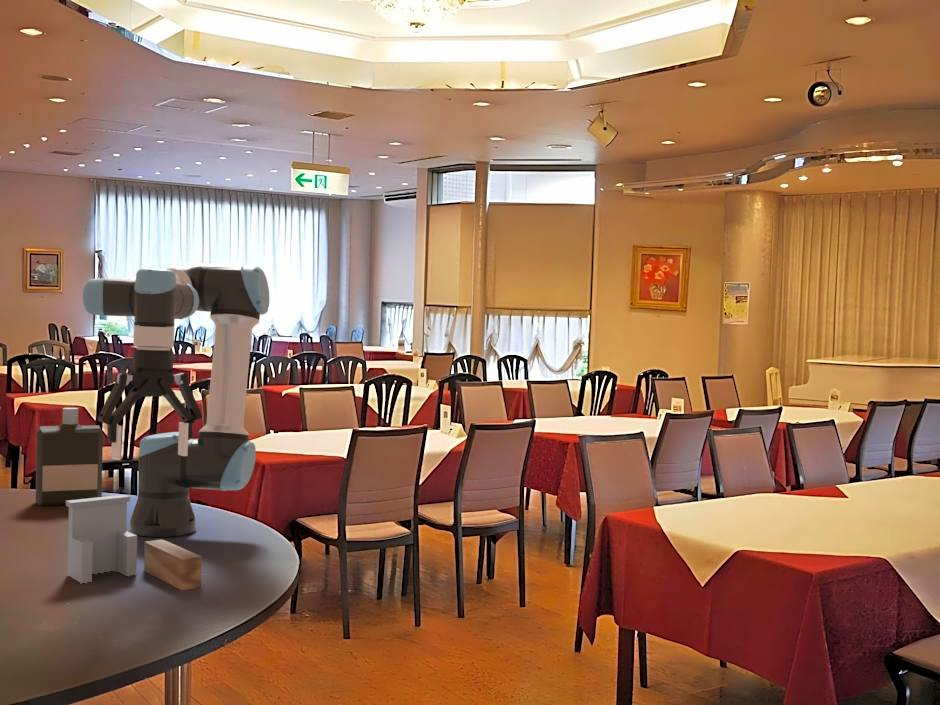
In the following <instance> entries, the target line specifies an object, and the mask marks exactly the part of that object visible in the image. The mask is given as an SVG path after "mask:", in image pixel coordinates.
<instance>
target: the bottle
mask: <svg viewBox="0 0 940 705" xmlns="http://www.w3.org/2000/svg"><path fill="white" fill-rule="evenodd" d="M103 444H104V431H103V429H102V428H101V427H100V425H99V424H98V425H95V424H94V425H81V424H80V423H79V407H63V408H62V422H61V423H60V425H39V427H38V428H37V429H36V450H35V451H36V454H35V456H36V458H35V460H36V462H35V463H36V464H35V468H36V469H35V502H36V504H37V505H38V507H47V506H49V507H51V506H66V501H68V500H78V499H87V498H97V497H103V493H102V492H103V459H104V458H103V455H104V454H103V453H104V452H103V451H104V450H103V449H104V445H103Z"/></svg>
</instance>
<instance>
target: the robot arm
mask: <svg viewBox="0 0 940 705" xmlns="http://www.w3.org/2000/svg"><path fill="white" fill-rule="evenodd" d="M269 289H270V288H269V284H268V279H267V276H266V274H265V271H263V269H262V268H260V266H256V265H247V264H245V263H242V264H231V263H230V264H229V263H228V264H225V263H218V264H217V263H201V262H200V263H192V264H186V265H182V266H176V267H169V268H165V269H161V268H160V269H158V268H157V269H155V268H140V269H139V270H137V271H136V274H135V276H130V277H123V278H104V277H101V278H91V279H89V280H87V282H86V283H85V285H84V287H83V290H82V304H83V307H84V309H85V311H86V312H87V313H88V314H90V315H93V316H102V317H105V316H106V317H109V316H110V317H134V322H133V346H134V347H135V348H134V349H133V351H132V373H131V374H126V373H121V372H117V373H116V375H115V379H114V380H115V381H114V386H112V389H111V391H110V393H109V394H108V397H107V398H106V401H105V403H104V404H103V407H102V408H101V411H100V412H99V414H98V416H97V421H98V422H100V423H104V424H106V426H107V434H106V435H107V436H106V438H107V442H108V443H111V454H110V459H111V460H114V461H121V460H122V458H121V456H122V434H123V433H122V431H123V430H122V429H123V428H122V427H123V426H122V425H119V423H120V422H121V421H122V420H123V418H124V417H125V416H126V415H127V414H128V412H129V411H130V410H131V409H132V408H133V407H134V405H135V404H136V403H137V401H139V400H140V399H141V398H142V397H146V398H147V397H148V398H152V397H163V398H164V399H166V401H167V402H168V403H169V405H171V407H172V408H173V410H174V411H175V413H177V415H178V416H179V418H181V420H182V421H183V422H182V421H179V422H178V431H170V432H162V433H156V434H151V435H147V436H144V437H143V438H142V439H141V440H140V442H139V450H138V456H137V458H138V465H137V466H138V469H137V470H138V471H137V472H138V476H137V477H138V478H137V484H138V485H137V500H136V504H135V506H134V507H133V508H134V509H133V512H132V515H131V518H130V519H129V527H128V528H129V529H128V530H129V531H128V532H130V533H132V534H134V535H137V536H140V537H146V538H147V537H149V538H168V537H177V536H178V537H179V536H184V535H188V534H191V533H193V532H195V531H196V529H197V520H196V516H195V513H194V510H193V507H192V503H191V500H190V489H196V490H198V489H199V490H200V489H201V490H212V491H213V490H214V491H215V490H216V491H223V492H226V491H239V490H242V489H243V488H245V487H246V485H248V483H249V481H250V479H251V477H252V475H253V472H254V468H255V464H256V456H257V453H256V450H257V448H256V445H255V443H254V442H252V441H251V440H249V439H250V437H249V436H250V433H249V432H248V431H247V430H246V429H245V427H244V424H245V423H244V422H245V421H244V420H245V414H246V412H245V411H246V410H245V409H246V401H247V400H246V399H247V390H248V378H249V369H250V367H249V366H250V359H251V358H250V356H251V355H250V354H251V346H252V335H253V329H254V328H255V326H257V325H258V324H259V323H260V316H263V315H265V314H267V313H268V312H269V307H270V291H269ZM197 311H198V312H206V313H207V312H208V313H209V312H210V315H209V318H210V320H212V322H213V323H214V324H215V333H214V341H213V352H212V360H211V361H212V363H211V370H210V371H211V372H210V381H209V382H210V383H209V384H210V385H209V392H208V402H207V403H208V405H207V414H206V424H205V425H203V427H202V428H201V429H199V430H198V437H197V438H192V437H193V424H195V423H196V421H198V420H201V419H202V417H203V414H202V412H201V409H200V407H199V406H198V403H197V401H196V399H195V396H194V394H193V392H192V390H191V387H190V384H189V375H188V374H187V373H185V372H178V373H177V374H174V373H173V369H174V352H173V350H172V348H174V346H175V320H183V319H186V318H189V317H191V316H193V315H194V314H195V313H196V312H197ZM130 382H131V384H132V386H133V387H132V388H131V389H130V391H129V392H128V394H127V396H126V397H125V398H124V399H123V400H122V402H120V404H119V406H117V405H118V403H119V401H120V399H121V397H122V396H123V394H124V391H125V390H126V387H127V386H128V385H129V383H130ZM173 383H175V384H176V385H177V387H178V390H179V392H180V394H181V396H182V398H183V401H184V403H185V405H184V404H183V403H182V402H181V401H180V399H179V398H178V396H177V395H176V393H175V392H174V390H173V388H171V386H172V384H173ZM185 406H186V407H185ZM115 408H116V409H115Z"/></svg>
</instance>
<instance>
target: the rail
mask: <svg viewBox="0 0 940 705" xmlns="http://www.w3.org/2000/svg"><path fill="white" fill-rule="evenodd" d="M143 551H144V553H143V554H144V555H143V556H144V558H143V560H144V562H143V571H144V570H145V571H146V572H148V573H149V574H148V573H147V574H148V575H150V574H151V575H150V576H152V575H153V576H152V577H154V576H155V577H154V578H156V577H157V578H156V579H158V578H159V579H158V580H160V579H161V580H160V581H162V580H163V581H162V582H164V581H165V583H166V582H167V583H166V584H168V583H169V584H168V585H170V584H171V585H170V586H172V587H174V588H176V589H179V590H180V591H187V590H192V589H193V590H194V589H197V588H198V587H199V588H202V572H203V571H202V566H203V562H202V561H203V556H202V555H199V554H197V553H195V552H193V551H191V550H187V549H186V548H184V547H182V546H178V545H177V544H174V543H172V542H170V541H169V540H168V541H167V540H165V539H154V540H149V541H148V540H147V541H144V550H143ZM145 571H144V572H145ZM146 572H145V573H146Z"/></svg>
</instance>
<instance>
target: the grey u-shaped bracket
mask: <svg viewBox="0 0 940 705" xmlns="http://www.w3.org/2000/svg"><path fill="white" fill-rule="evenodd" d="M129 502H131V496H129V495H127V494H117V495H108V496H107V495H106V496H102V497H97V498H87V499H78V500H68V501H66V505H65V506H66V507H67V508H68V524H67V526H68V527H67V528H68V530H67V531H68V535H67V575H68V576H70V577H72V578H74V579H75V580H77V581H78V582H77V581H76V582H77V583H79V582H80V583H79V584H81V583H85V584H88V583H87V582H91V583H92V582H93V575H92V574H95V573H96V574H95V575H98V574H97V573H101V574H105V573H104V572H108V573H110V572H109V571H114V572H117V571H118V572H120V573H121V574H120V573H119V574H120V575H122V574H123V576H124V575H125V576H124V577H126V576H128V577H132V575H135V576H137V564H138V563H137V560H138V558H137V557H138V556H137V555H138V553H137V552H138V535H135V534H132V533H131V532H130V531H127V520H128V519H127V516H128V503H129ZM118 572H117V573H118ZM130 575H131V576H130ZM68 576H67V577H68ZM70 577H69V578H70ZM72 578H71V579H72ZM74 579H73V580H74ZM75 580H74V581H75Z"/></svg>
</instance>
